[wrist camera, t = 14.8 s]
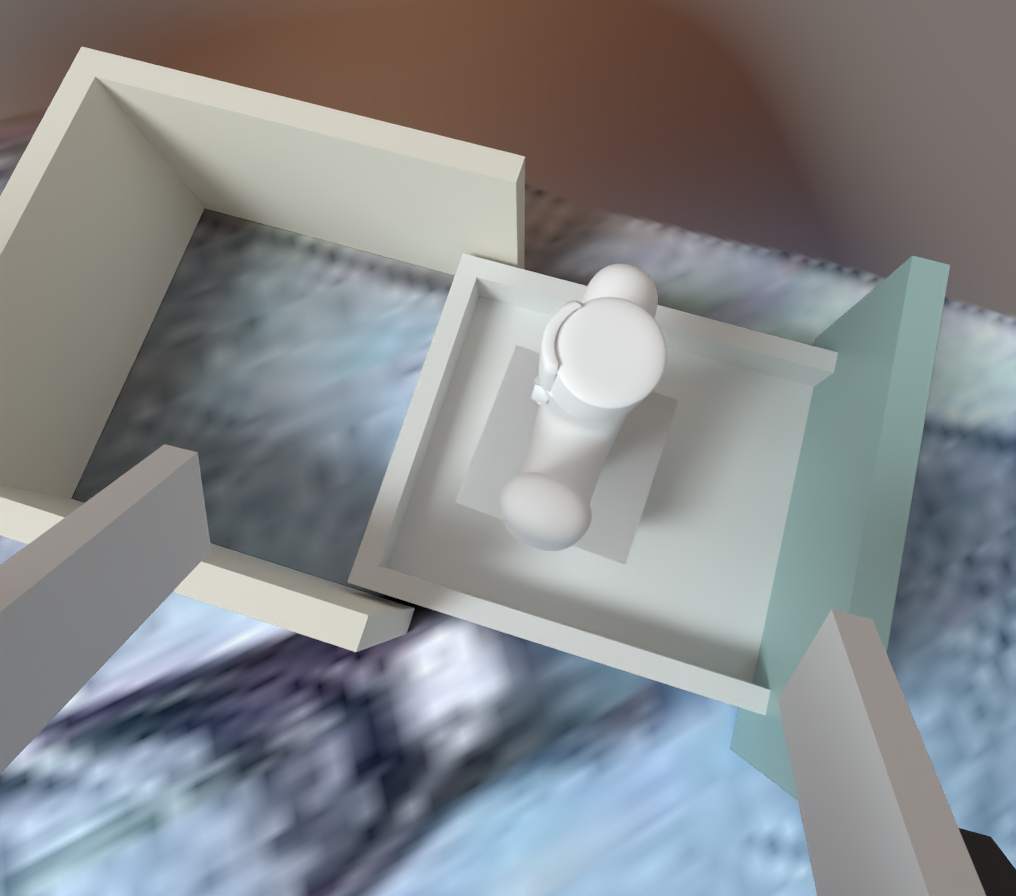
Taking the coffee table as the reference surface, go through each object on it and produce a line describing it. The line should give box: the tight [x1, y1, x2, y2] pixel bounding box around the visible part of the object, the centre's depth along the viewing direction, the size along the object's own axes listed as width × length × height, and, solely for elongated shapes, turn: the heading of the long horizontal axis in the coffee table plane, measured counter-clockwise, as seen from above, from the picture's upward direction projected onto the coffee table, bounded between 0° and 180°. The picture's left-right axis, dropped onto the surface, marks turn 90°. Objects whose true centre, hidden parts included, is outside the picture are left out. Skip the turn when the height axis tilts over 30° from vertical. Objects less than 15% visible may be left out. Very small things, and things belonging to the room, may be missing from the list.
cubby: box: [0, 47, 525, 652], centre depth 27 cm, size 19×19×9 cm
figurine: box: [455, 264, 679, 565], centre depth 22 cm, size 7×9×15 cm
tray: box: [347, 253, 950, 800], centre depth 26 cm, size 19×20×8 cm
